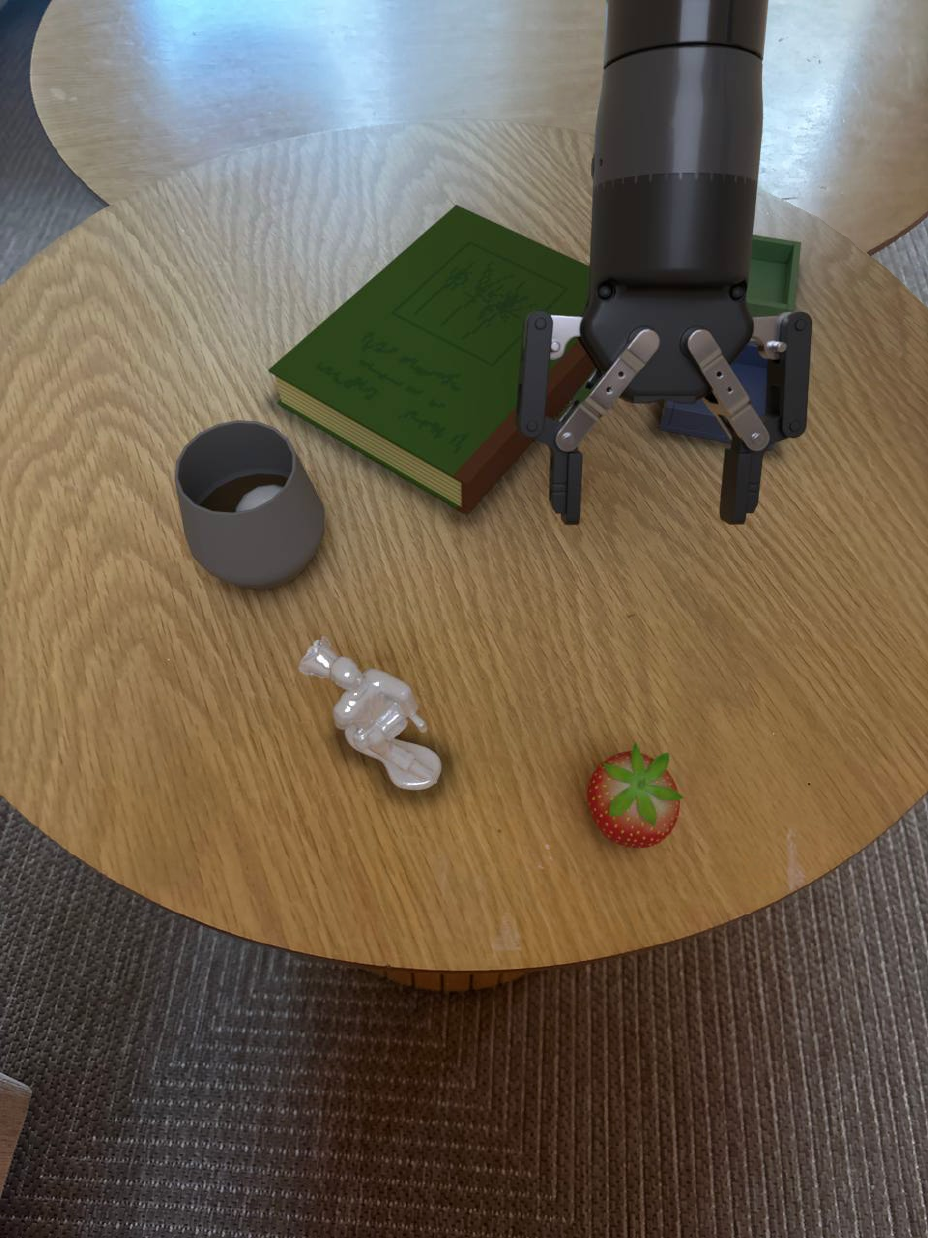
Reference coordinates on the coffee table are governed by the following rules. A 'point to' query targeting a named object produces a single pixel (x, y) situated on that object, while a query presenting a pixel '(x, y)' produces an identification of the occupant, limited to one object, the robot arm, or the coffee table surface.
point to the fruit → (634, 799)
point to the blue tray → (701, 419)
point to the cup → (248, 505)
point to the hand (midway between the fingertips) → (651, 522)
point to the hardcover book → (439, 356)
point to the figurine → (376, 716)
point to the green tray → (772, 276)
